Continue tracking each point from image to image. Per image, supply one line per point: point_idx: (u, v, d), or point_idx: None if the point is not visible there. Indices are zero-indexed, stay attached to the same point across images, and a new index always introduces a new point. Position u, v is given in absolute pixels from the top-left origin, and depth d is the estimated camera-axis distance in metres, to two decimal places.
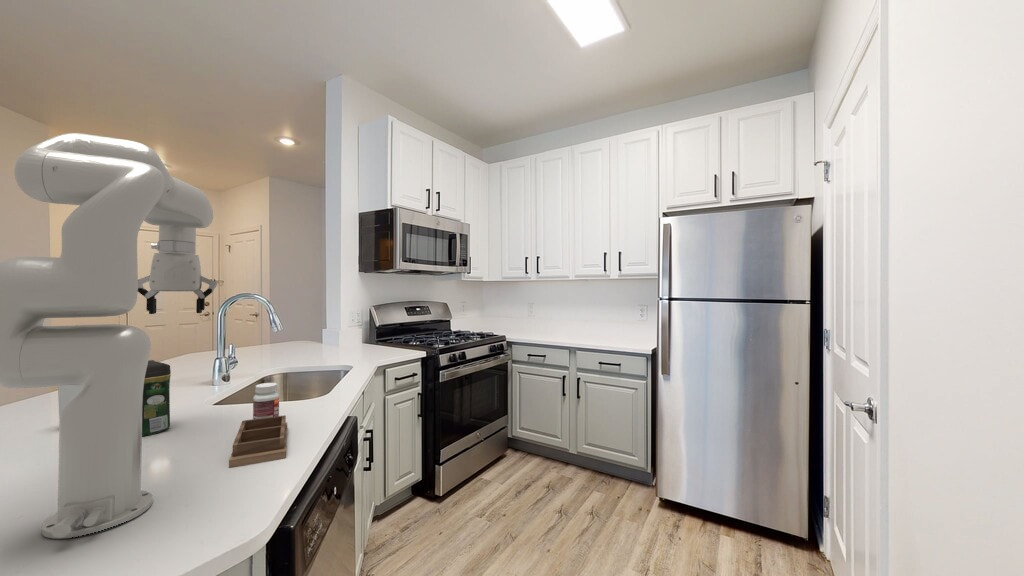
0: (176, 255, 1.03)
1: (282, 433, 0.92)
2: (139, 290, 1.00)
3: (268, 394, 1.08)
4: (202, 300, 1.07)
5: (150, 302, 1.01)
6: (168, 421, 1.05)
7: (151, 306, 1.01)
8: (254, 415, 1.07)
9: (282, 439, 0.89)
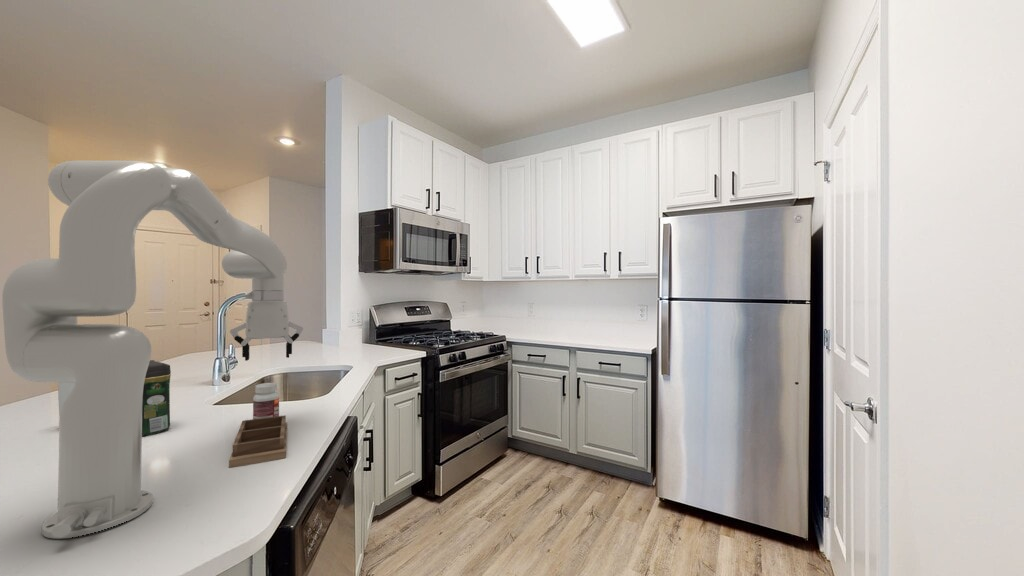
0: (269, 304, 1.08)
1: (282, 433, 0.92)
2: (236, 338, 1.06)
3: (268, 394, 1.08)
4: (291, 345, 1.12)
5: (246, 349, 1.06)
6: (168, 421, 1.05)
7: (247, 353, 1.06)
8: (254, 415, 1.07)
9: (282, 439, 0.89)
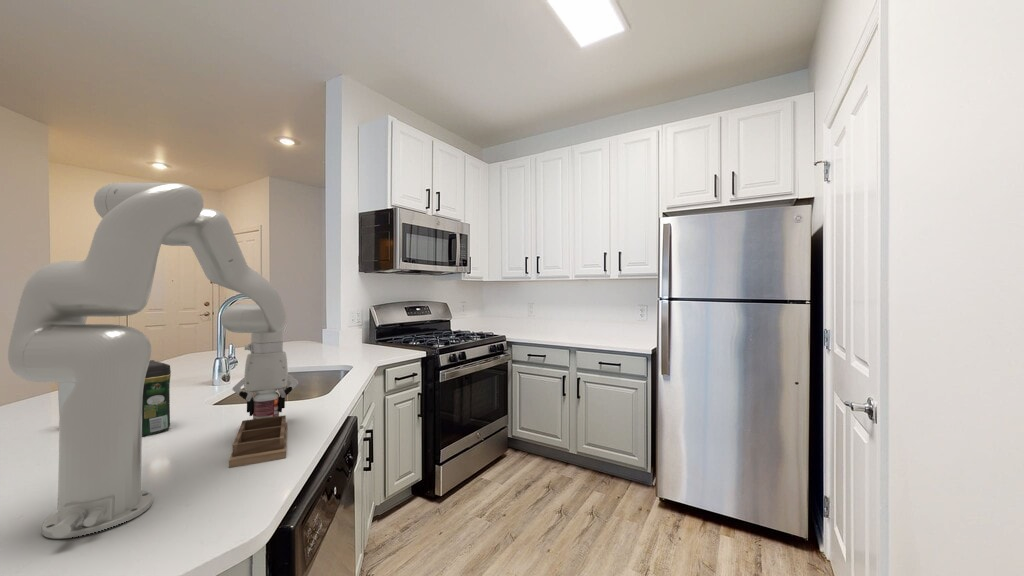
0: (268, 356, 1.07)
1: (282, 433, 0.92)
2: (240, 394, 1.06)
3: (268, 394, 1.08)
4: (283, 399, 1.11)
5: (250, 405, 1.06)
6: (168, 421, 1.05)
7: (251, 408, 1.06)
8: (254, 415, 1.07)
9: (282, 439, 0.89)
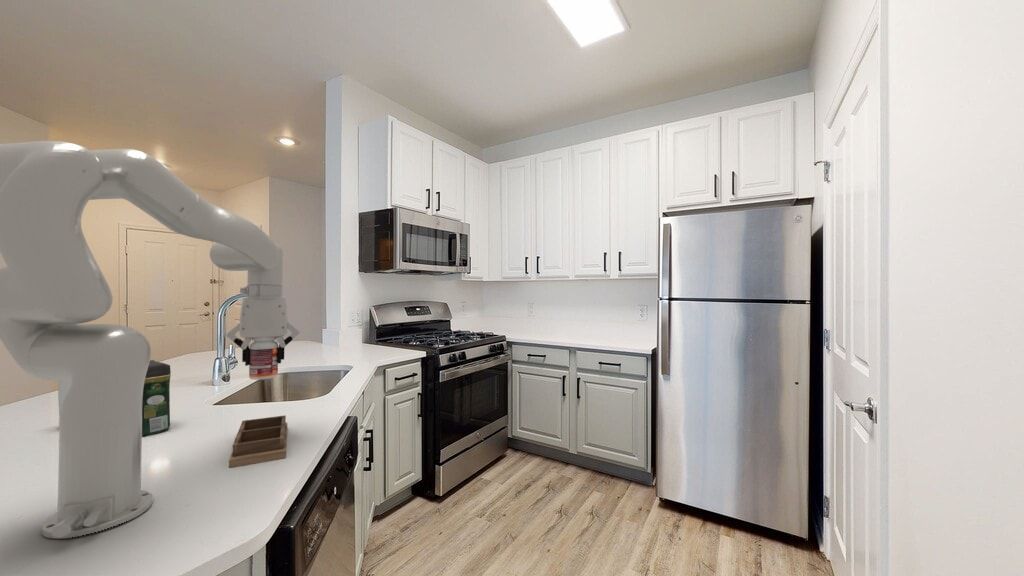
0: (265, 300, 0.97)
1: (282, 433, 0.92)
2: (235, 341, 0.96)
3: (266, 342, 0.98)
4: (283, 349, 1.01)
5: (246, 353, 0.96)
6: (168, 421, 1.05)
7: (247, 357, 0.96)
8: (250, 365, 0.97)
9: (282, 439, 0.89)
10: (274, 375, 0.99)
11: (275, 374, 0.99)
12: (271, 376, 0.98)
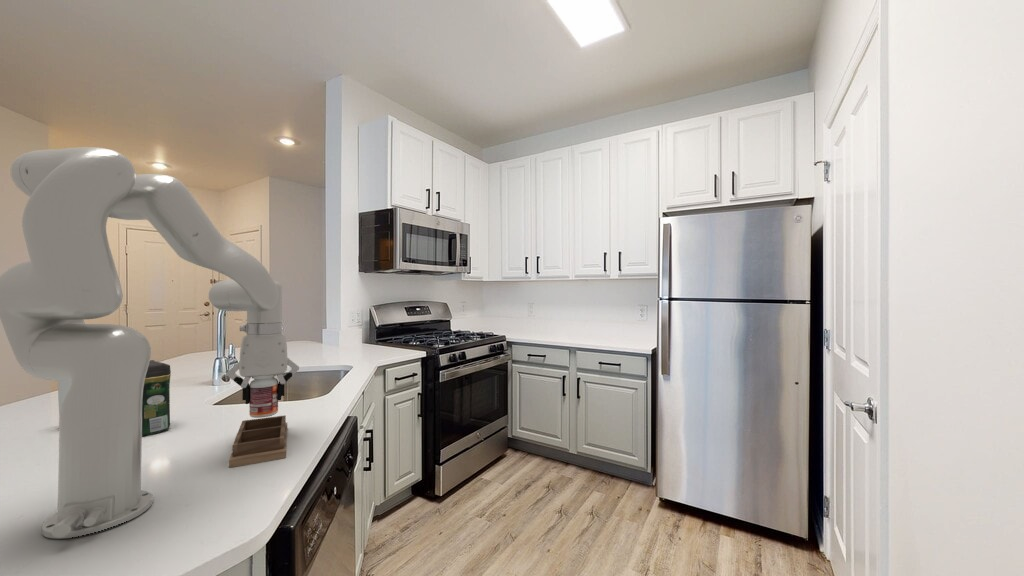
0: (265, 338, 0.97)
1: (282, 433, 0.92)
2: (235, 380, 0.96)
3: (266, 380, 0.98)
4: (283, 386, 1.01)
5: (246, 392, 0.96)
6: (168, 421, 1.05)
7: (247, 396, 0.96)
8: (251, 403, 0.97)
9: (282, 439, 0.89)
10: (274, 412, 0.99)
11: (275, 411, 0.99)
12: (271, 413, 0.98)
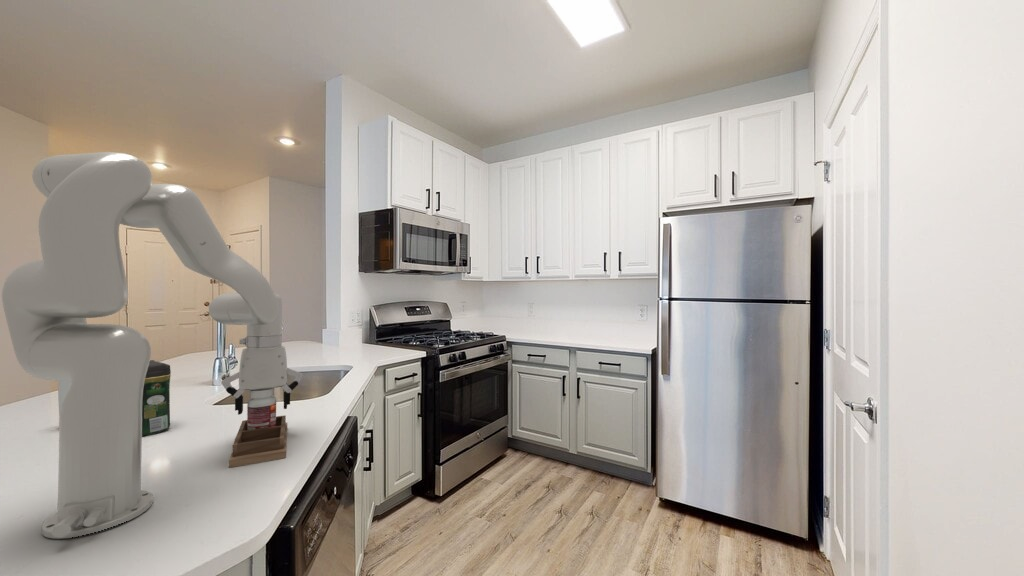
0: (265, 350, 0.97)
1: (282, 433, 0.92)
2: (228, 390, 0.95)
3: (264, 399, 0.97)
4: (289, 394, 1.01)
5: (239, 402, 0.95)
6: (168, 421, 1.05)
7: (240, 406, 0.96)
8: (248, 422, 0.96)
9: (282, 439, 0.89)
10: None
11: None
12: None
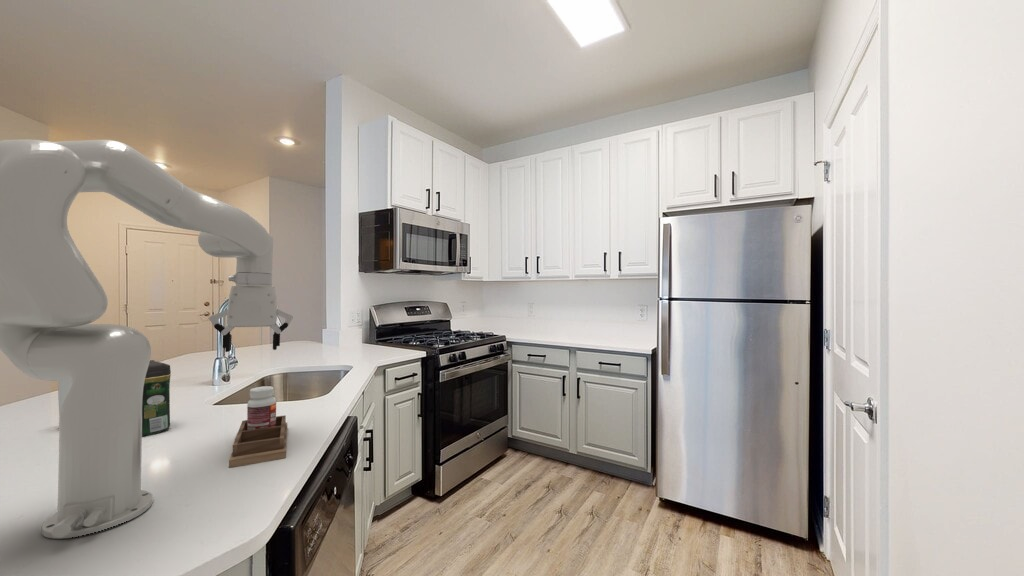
0: (254, 288, 0.95)
1: (282, 433, 0.92)
2: (216, 326, 0.93)
3: (264, 399, 0.97)
4: (278, 335, 0.99)
5: (227, 339, 0.94)
6: (168, 421, 1.05)
7: (228, 343, 0.94)
8: (248, 422, 0.96)
9: (282, 439, 0.89)
10: None
11: None
12: None
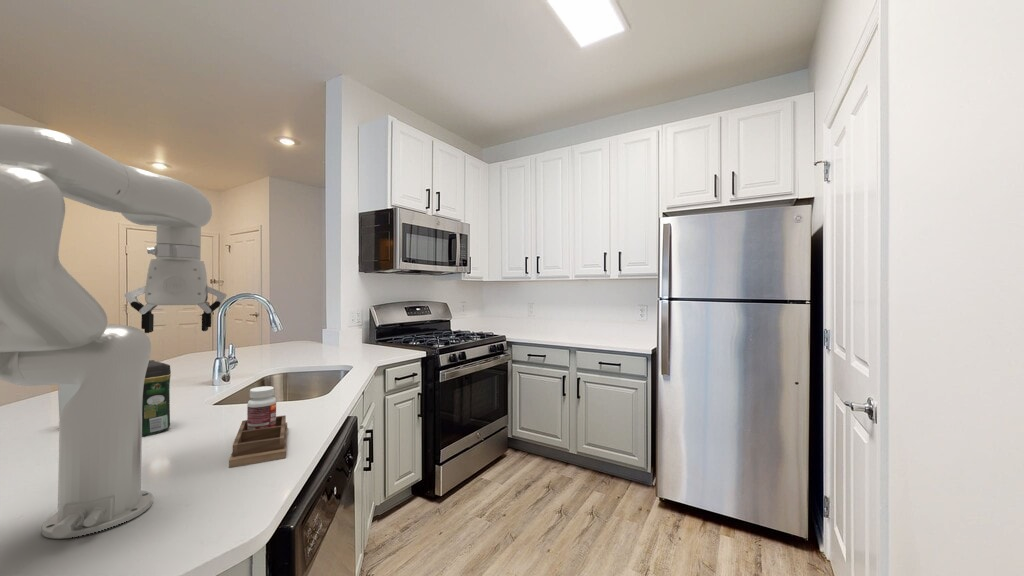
0: (177, 261, 0.85)
1: (282, 433, 0.92)
2: (132, 304, 0.83)
3: (264, 399, 0.97)
4: (208, 315, 0.89)
5: (146, 319, 0.83)
6: (168, 421, 1.05)
7: (147, 323, 0.83)
8: (248, 422, 0.96)
9: (282, 439, 0.89)
10: None
11: None
12: None
